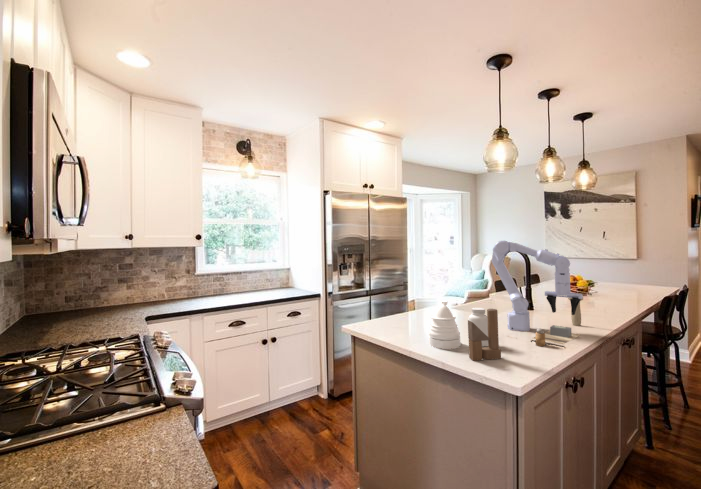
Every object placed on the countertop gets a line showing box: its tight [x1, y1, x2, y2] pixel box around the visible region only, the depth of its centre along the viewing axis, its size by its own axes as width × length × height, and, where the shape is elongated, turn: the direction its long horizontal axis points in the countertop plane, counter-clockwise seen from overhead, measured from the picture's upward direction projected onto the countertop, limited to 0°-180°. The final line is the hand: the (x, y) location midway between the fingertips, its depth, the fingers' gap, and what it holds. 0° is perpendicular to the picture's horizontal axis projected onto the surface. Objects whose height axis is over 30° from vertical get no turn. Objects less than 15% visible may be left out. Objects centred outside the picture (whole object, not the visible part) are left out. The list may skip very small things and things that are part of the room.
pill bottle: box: [468, 307, 488, 348], centre depth 140 cm, size 8×8×15 cm
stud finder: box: [549, 324, 573, 338], centre depth 145 cm, size 4×7×4 cm, turn 42°
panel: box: [531, 330, 581, 348], centre depth 143 cm, size 20×12×1 cm, turn 128°
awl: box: [535, 328, 546, 347], centre depth 136 cm, size 3×3×6 cm
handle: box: [568, 297, 584, 327], centre depth 161 cm, size 5×6×15 cm
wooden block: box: [467, 308, 502, 362], centre depth 123 cm, size 4×11×18 cm, turn 96°
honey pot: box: [428, 300, 461, 350], centre depth 142 cm, size 13×13×18 cm
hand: (563, 313), depth 149 cm, fingers open, 7 cm apart
